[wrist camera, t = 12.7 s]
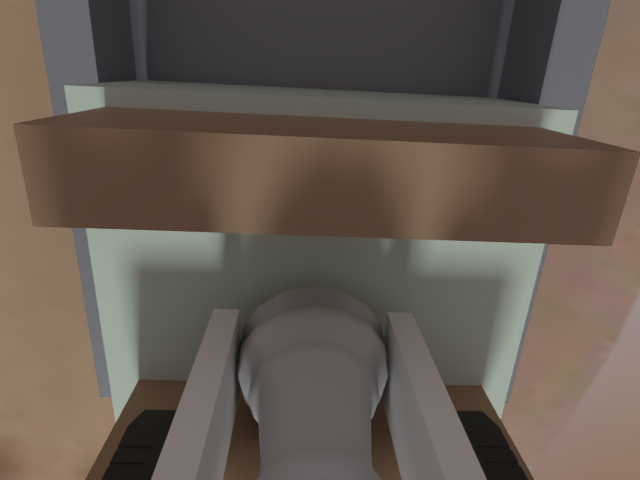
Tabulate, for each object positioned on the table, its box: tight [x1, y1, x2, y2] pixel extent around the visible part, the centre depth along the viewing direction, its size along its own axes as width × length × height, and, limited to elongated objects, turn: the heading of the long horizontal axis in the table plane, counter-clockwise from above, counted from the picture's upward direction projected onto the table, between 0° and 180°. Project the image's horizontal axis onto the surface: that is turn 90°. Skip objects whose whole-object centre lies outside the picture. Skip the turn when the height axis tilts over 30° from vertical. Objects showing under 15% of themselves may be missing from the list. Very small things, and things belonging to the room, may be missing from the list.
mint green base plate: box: [13, 80, 640, 480], centre depth 15 cm, size 14×12×10 cm
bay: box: [35, 0, 611, 403], centre depth 17 cm, size 18×26×4 cm
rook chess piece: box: [237, 286, 389, 480], centre depth 10 cm, size 4×4×8 cm
